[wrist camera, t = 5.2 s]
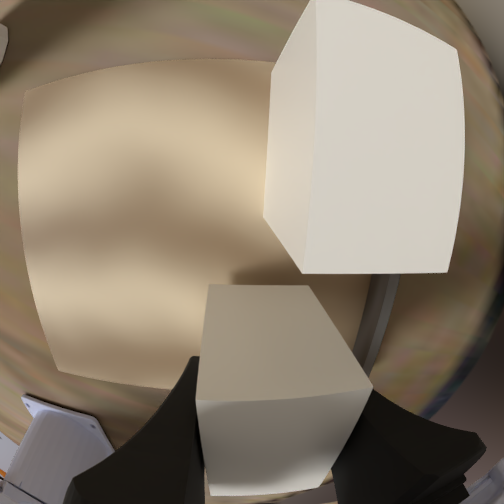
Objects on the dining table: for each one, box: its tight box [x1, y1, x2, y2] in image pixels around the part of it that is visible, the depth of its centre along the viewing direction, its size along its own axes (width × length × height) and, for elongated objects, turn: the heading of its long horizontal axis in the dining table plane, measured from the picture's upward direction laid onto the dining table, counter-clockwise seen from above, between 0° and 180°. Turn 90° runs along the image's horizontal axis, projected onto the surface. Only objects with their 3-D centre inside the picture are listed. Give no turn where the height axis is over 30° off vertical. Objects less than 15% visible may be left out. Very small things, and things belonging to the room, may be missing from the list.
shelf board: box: [18, 59, 401, 389], centre depth 11 cm, size 16×18×2 cm
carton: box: [196, 284, 373, 496], centre depth 9 cm, size 4×6×6 cm
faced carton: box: [263, 0, 465, 274], centre depth 7 cm, size 4×6×6 cm
